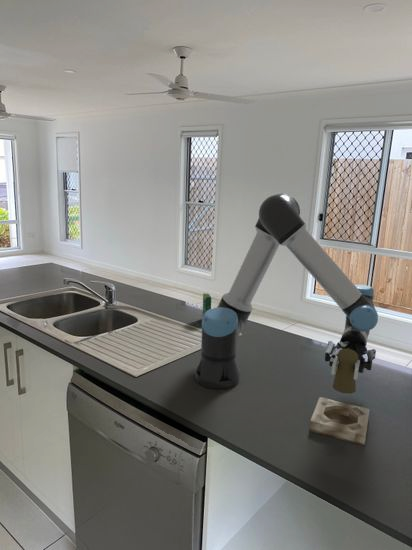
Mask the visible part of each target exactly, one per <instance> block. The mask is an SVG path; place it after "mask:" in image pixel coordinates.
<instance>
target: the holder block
mask: <svg viewBox="0 0 412 550" xmlns="http://www.w3.org/2000/svg"><path fill="white" fill-rule="evenodd" d="M369 416H370V408H366V407H362V406H358V405H354V404H349V403H346V402H342V401H337V400H334V399H329V398H327V397H321V396H319V397H318V400H317V403H316V406H315V407H314V411H313V413H312V416H311V418H310V421H309V422H310V423H309V431H310V432H314V433H317V434H321V435H324V436H327V437H329V438H330V437H331V438H334V439H337V440H341V441H344V442H349V443H352V444H356V445H359V446H363V447H365V444H366V438H367V430H368V424H369V418H370V417H369Z"/></svg>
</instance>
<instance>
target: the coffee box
mask: <svg viewBox="0 0 412 550" xmlns="http://www.w3.org/2000/svg"><path fill="white" fill-rule="evenodd" d="M209 309H212V296H211V295H210V294H209V292H205V293H203V294H202V316H203V315H204V313H205V312H206V311H207V310H209Z"/></svg>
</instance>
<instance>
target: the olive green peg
mask: <svg viewBox="0 0 412 550" xmlns="http://www.w3.org/2000/svg"><path fill="white" fill-rule="evenodd" d="M338 360H339V361H338V366H337V369H336V371H335V374H334V379H333V382H332V388H333V390H335V391H337V392H339V393H342V394H347V395H348V394H353V393H355V392H356V390H357V389H356V380H355V379H354V372H355V367H356V363H357V360H358V354H357V353H356V352H355V351H354V350H351V349H341V350H340V351H339V352H338Z"/></svg>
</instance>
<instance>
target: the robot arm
mask: <svg viewBox="0 0 412 550" xmlns="http://www.w3.org/2000/svg"><path fill="white" fill-rule="evenodd" d="M300 215H301V209H300V204H299V203H298V201H297V200H296V199H295V198H294V197H293V196H290V194H286V193H277V194H273V195H271V196H268V197H267V198H265V200H264V201H263V202H262V203H261V204H260V207H259V210H258V219H257V221H256V224H255V225H254V227H255V230H256V233H255V236H254V238H253V239H252V242H251V245H250V247H249V249H248V251H247V253H246V255H245V257H244V260H243V261H242V264H241V266H240V269H239V270H238V272H237V275H236V277H235V278H234V281H233V283H232V286H231V287H230V290H229V292H227V293H224V294H223V295H222V296H221V298H220V301H219V303H218V305H217V307H214V308H211V309H209V310H207V311H206V312H205V313H204V315H203V314H202V319H201V347H200V348H201V352H200V358H199V361H198V364H197V365H196V366H197V367H196V369H195V371H194V373H195V374H194V375H195V377H194V379H195V381H196V382H197V383H198V384H199V383H200V384H199V385H201V386H202V387H206V388H209V389H213V390H214V389H215V390H223V389H229V388H230V389H231V388H233V387H235V386H237V385H238V384H239V383H240V379H241V374H240V373H241V372H240V369H239V364H238V361H237V358H236V357H237V343H238V342H237V340H238V337H239V336H240V335H239V334H240V333H242V330H244V328H245V327H246V325H247V323H248V319H249V317H250V315H251V313H252V311H253V306H252V301H253V299H254V297H255V295H256V293H257V292H258V290H259V288H260V285H261V283H262V281H263V279H264V277H265V275H266V274H267V271H268V269H269V267H270V264H271V262H272V261H273V259H274V257H275V255H276V252H277V251H278V249H279V246H282V247H283V246H284V247H287V249H288V250H289V251H290V252H291V253H292V254H293V256H294V258H296V259H297V261H298V262H299V263H300V264H301V265H302V266H303V267H304V269H305V270H306V271H307V272H308V273H309V274H310V275H311V276H312V277H313V279H314V280H315V281H316V282H317V283H318V284H319V285H320V287H321V288H322V289H323V290H324V292H325V293H327V294H328V296H329V297H330V298H331V300H333V302H334V303H335V304H336V305H337V306H338V307H339V309H341V311H342V312H343V313H344V314H345V316H346V317H345V325H344V331H343V333H342V335H341V337H340V340H339V341H338V342H337V343H335V342H333V341H332V340H329V341H328V342H327V349H326V350H325V352H324V353H325V355H324V361H325V362H329V363H328V364H329V367H331V374H330V375H331V376H332V375H333V376H335V375H336V371H337V367H338V363H339V360H338V352H339V351H340V350H341V349H351V350H354V351H355V352H356V353H357V354H358V360H357V362H356V363H355V372H354V379H355V381H357V380H358V376H359V373H361V374H363V373H364V371H365V370H364V369H366V370H367V371H372V365H373V360H375V358H376V355H377V354H376V353H377V350H376V349H368V347H367V343H368V337H369V335H370V331H371V330H373V329H375V327H377V324H378V322H379V318H378V317H379V315H378V311H377V310H376V307H375V305H374V298H375V296H374V293H375V292H374V288H373V286H370V285H365V284H354V283H353V282H352V281H351V279H350V278H349V277H348V276H347V275H346V274H345V273H344V272H343V270H342V269H341V268H340V267H339V265H337V263H336V262H335V260H333V258H331V256H330V255H329V254H328V253H327V252H326V251H325V249H324V248H323V247H322V246H321V245H320V243H319V242H317V240H316V239H315V238H314V237H313V236H312V235H311V233H310V232H309V231H308V230H307V224H306V222H305V221H304V220H303V218H302V217H301V216H300ZM336 349H337V350H336ZM365 355H366V356H367V361H366V358H364V356H365Z"/></svg>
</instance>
